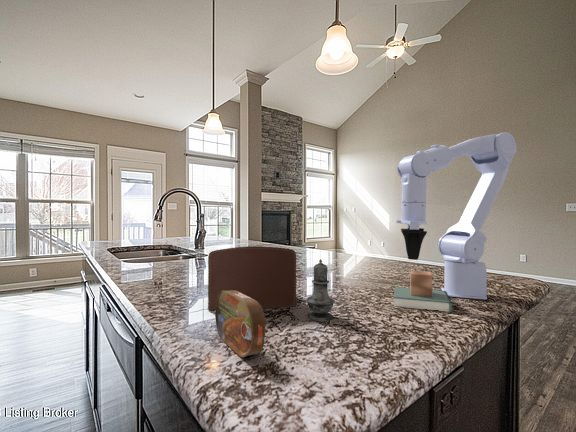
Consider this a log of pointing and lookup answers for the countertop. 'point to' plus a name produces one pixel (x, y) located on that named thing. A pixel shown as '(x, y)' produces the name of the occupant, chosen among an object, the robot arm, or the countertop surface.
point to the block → (421, 283)
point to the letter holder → (254, 275)
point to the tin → (240, 322)
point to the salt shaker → (320, 295)
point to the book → (422, 300)
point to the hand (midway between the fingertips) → (412, 257)
